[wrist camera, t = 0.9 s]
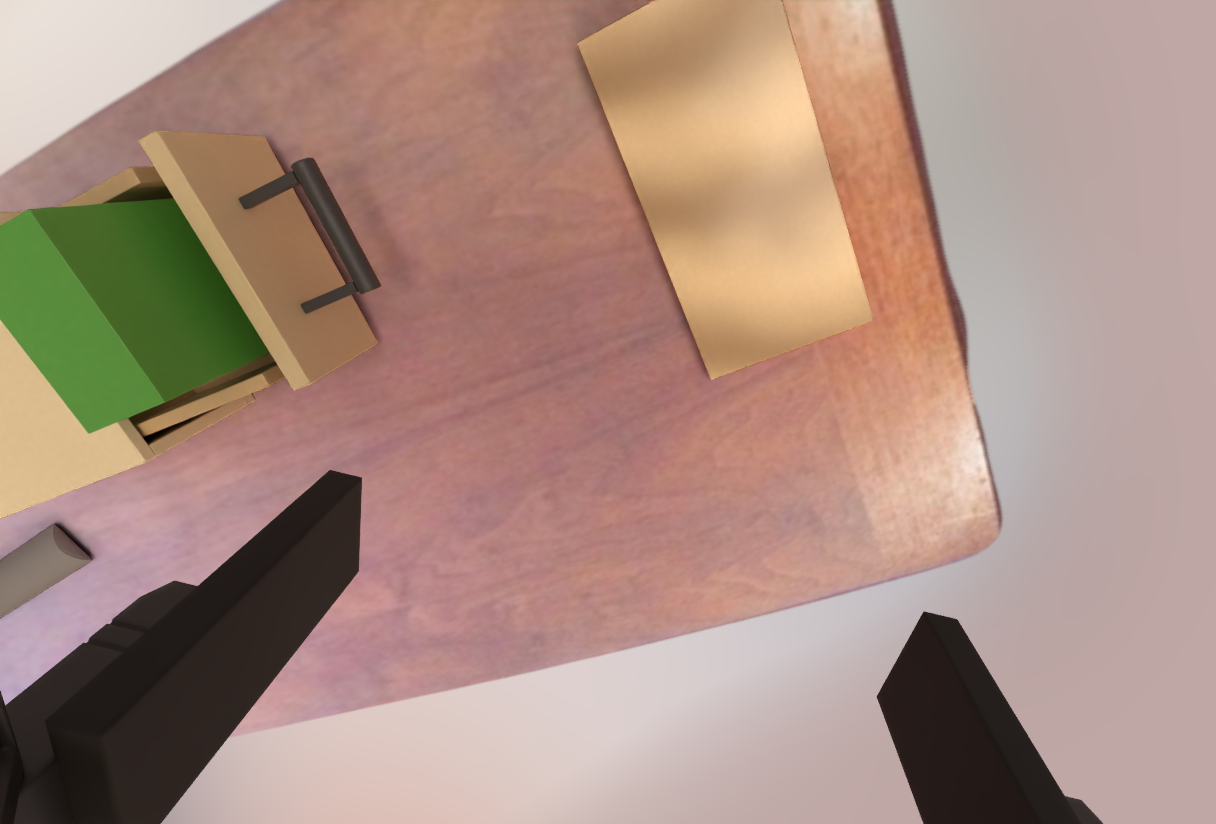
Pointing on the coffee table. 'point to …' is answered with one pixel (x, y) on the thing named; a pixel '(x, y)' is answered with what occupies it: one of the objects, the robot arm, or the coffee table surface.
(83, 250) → the tall green block
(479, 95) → the coffee table surface
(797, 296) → the board
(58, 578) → the half round rod
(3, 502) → the cabinet
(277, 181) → the drawer
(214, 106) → the coffee table surface
